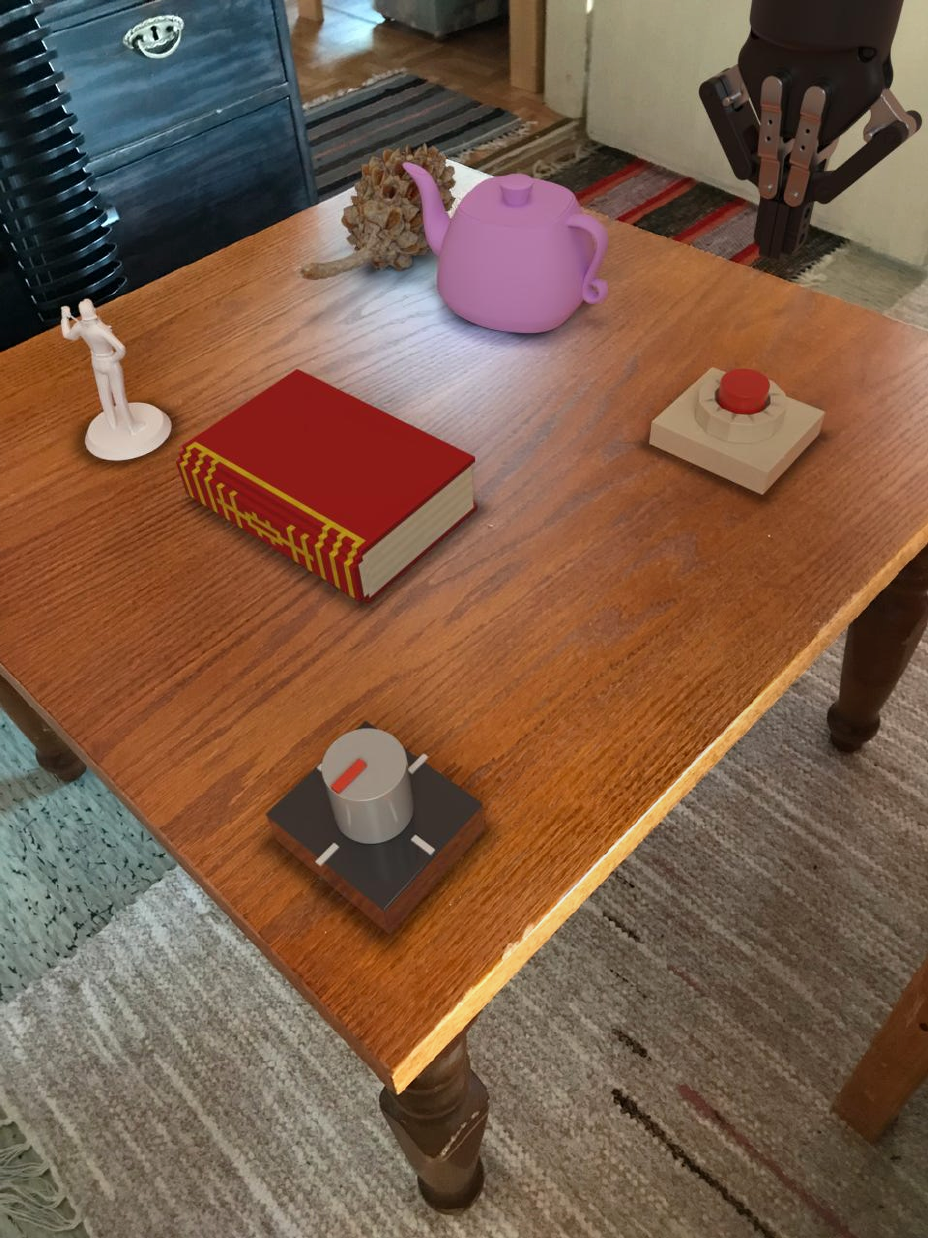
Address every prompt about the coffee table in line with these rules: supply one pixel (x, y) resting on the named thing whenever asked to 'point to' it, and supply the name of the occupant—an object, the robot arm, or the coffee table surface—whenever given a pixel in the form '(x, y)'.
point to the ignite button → (743, 391)
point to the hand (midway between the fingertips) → (776, 254)
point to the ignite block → (736, 433)
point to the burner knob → (368, 785)
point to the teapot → (513, 252)
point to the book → (330, 482)
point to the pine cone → (388, 213)
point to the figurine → (114, 395)
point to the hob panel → (388, 870)
